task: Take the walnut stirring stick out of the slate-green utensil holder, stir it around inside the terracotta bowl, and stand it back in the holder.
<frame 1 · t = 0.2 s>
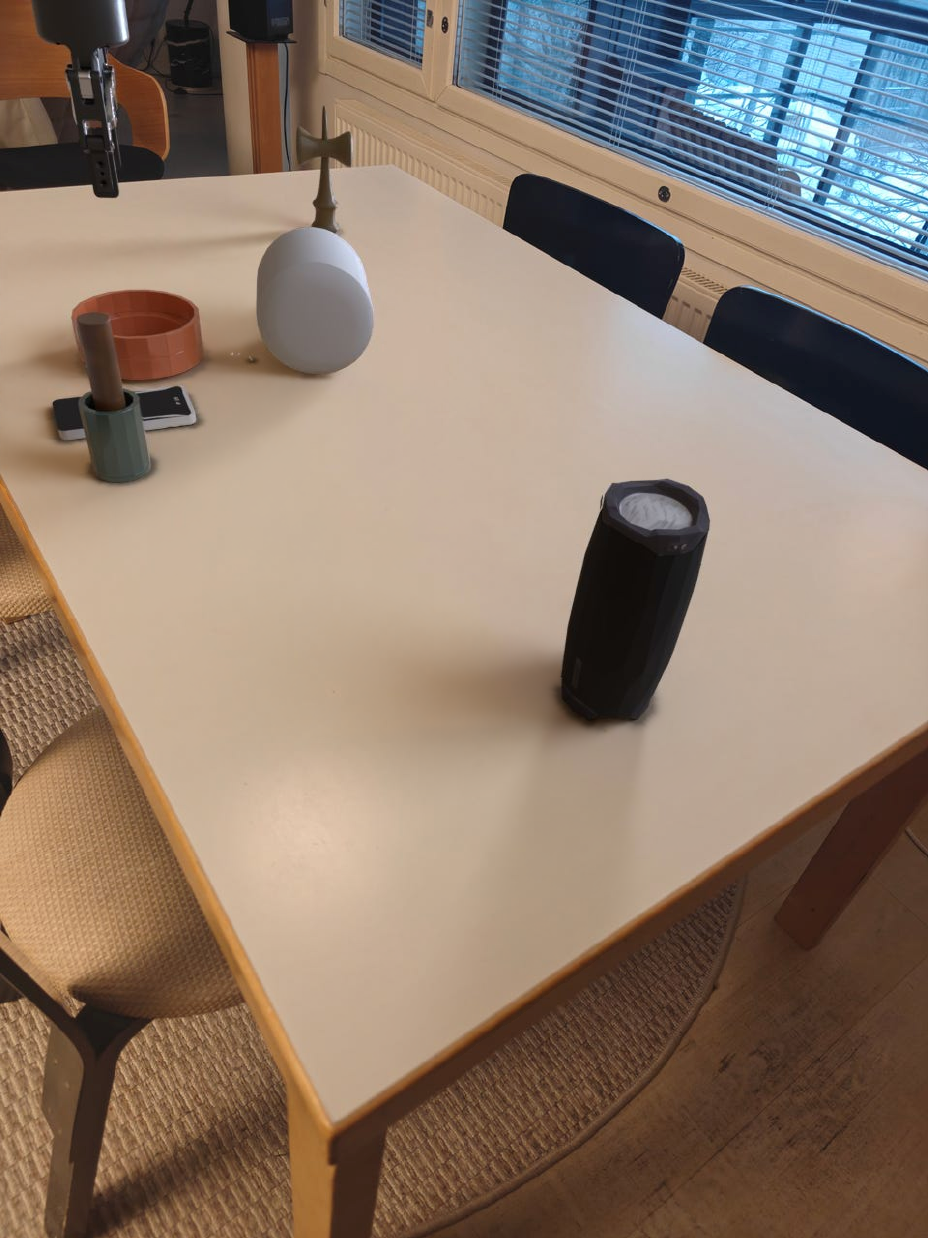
hand: (108, 182, 83), 26 cm above the table, tool pointing down, fingers open, 8 cm apart
stirring stick: (121, 463, 93), point 1 cm above the table, touching holder
kendama: (325, 232, 156), on the table
white oval cylinder: (301, 342, 121), on the table
portable speaker: (603, 694, 74), on the table
holder: (122, 467, 93), on the table
bowl: (143, 357, 113), on the table
smartphone: (126, 418, 101), on the table
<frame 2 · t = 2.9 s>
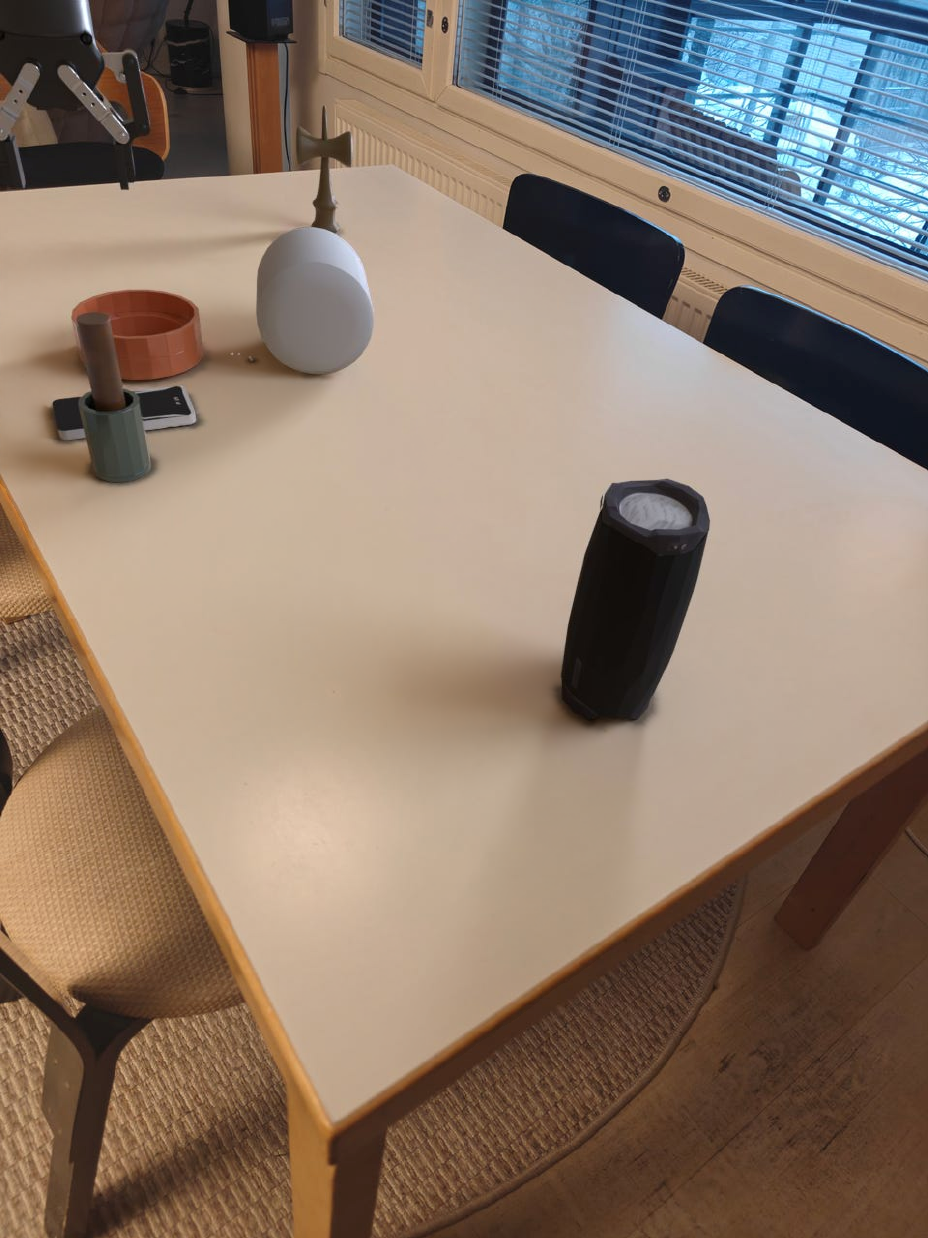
hand: (73, 186, 76), 28 cm above the table, tool pointing down, fingers open, 8 cm apart
nothing on the table moved.
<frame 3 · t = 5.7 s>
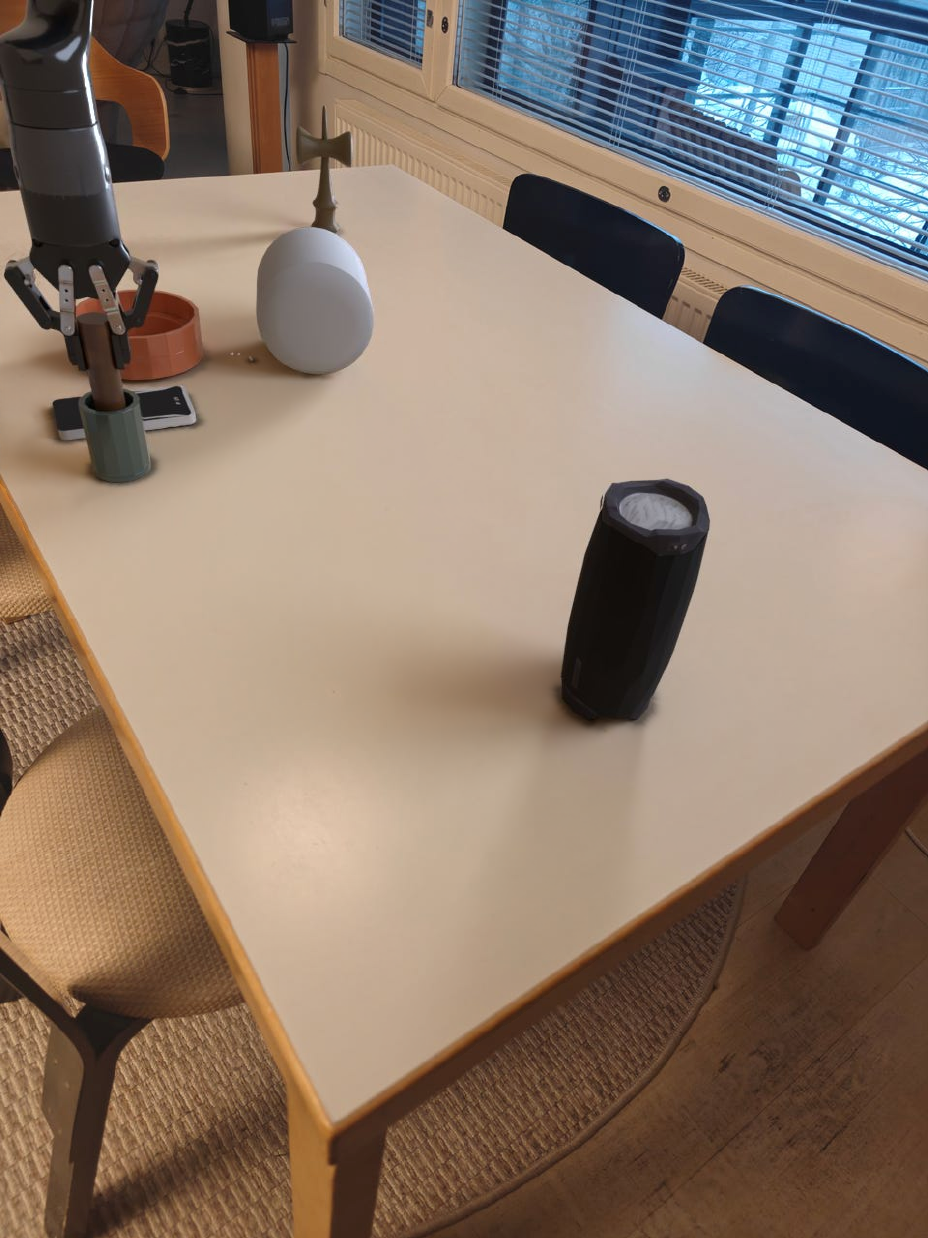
hand: (102, 365, 85), 12 cm above the table, tool pointing down, fingers closed on stirring stick, 3 cm apart
stirring stick: (121, 463, 93), point 1 cm above the table, touching gripper, holder
everything else where it was.
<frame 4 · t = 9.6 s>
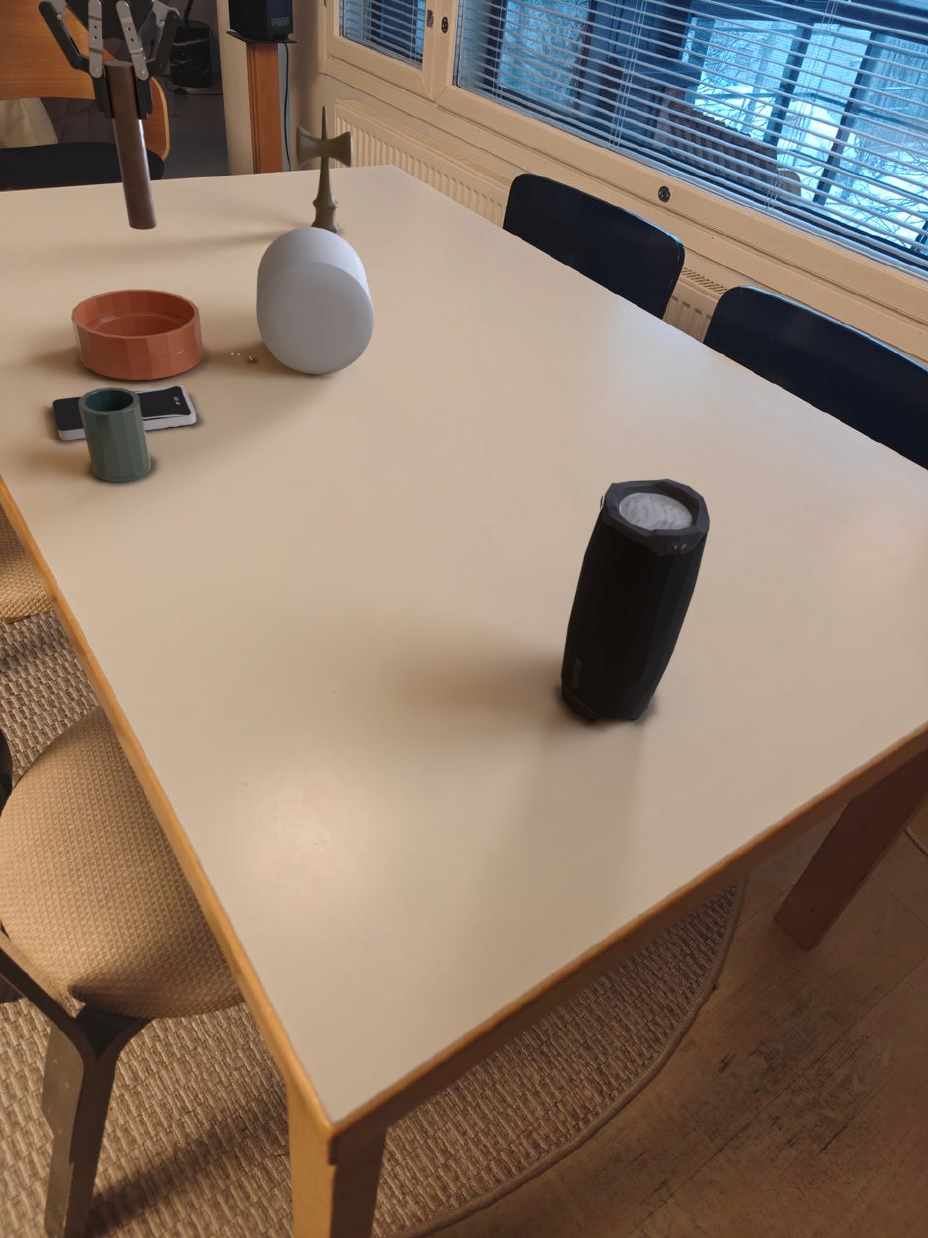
hand: (126, 116, 92), 29 cm above the table, tool pointing down, fingers closed on stirring stick, 3 cm apart
stirring stick: (143, 225, 99), point 18 cm above the table, touching gripper
everything else where it was.
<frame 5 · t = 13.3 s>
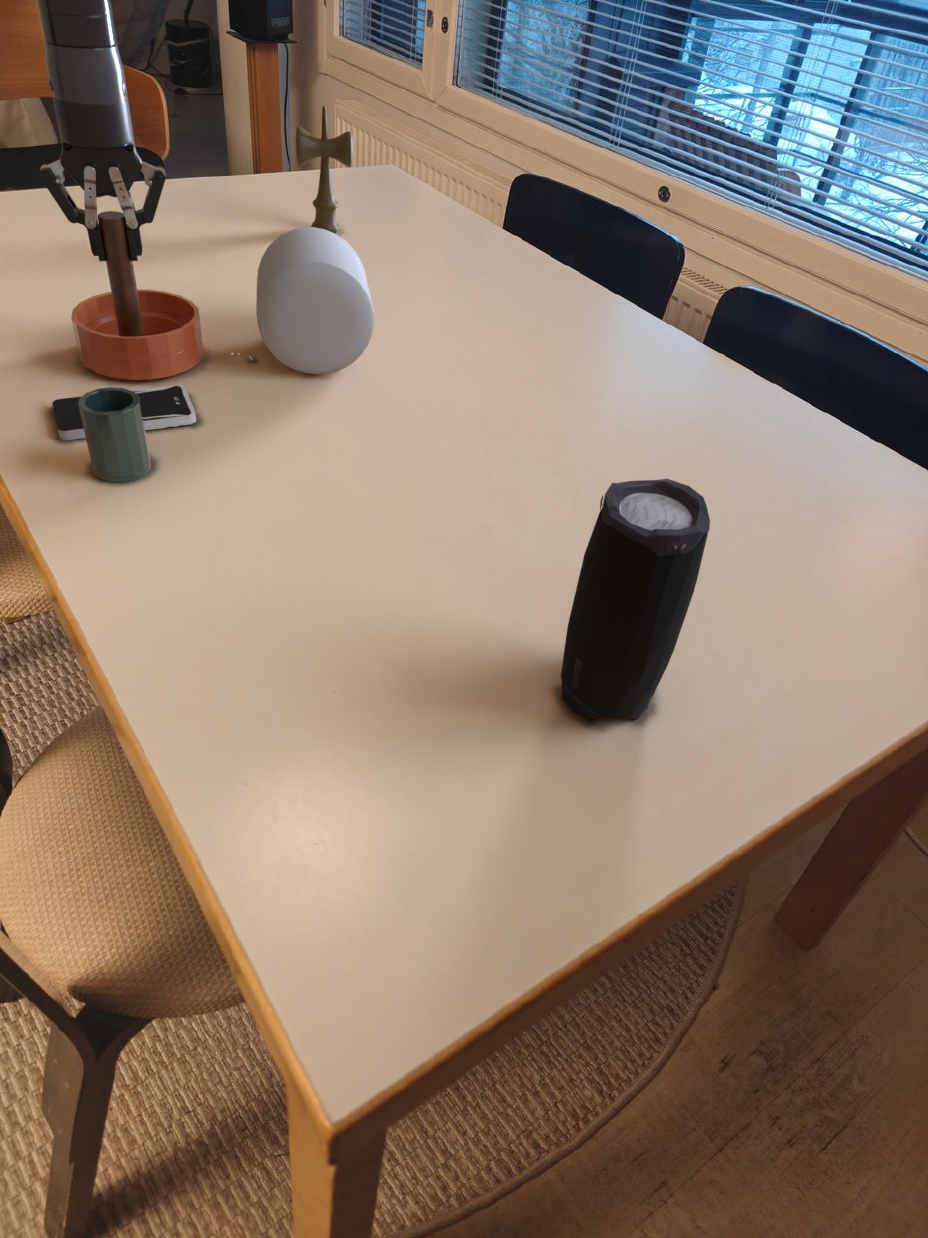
hand: (118, 258, 102), 13 cm above the table, tool pointing down, fingers closed on stirring stick, 3 cm apart
stirring stick: (134, 347, 110), point 2 cm above the table, touching gripper
everything else where it was.
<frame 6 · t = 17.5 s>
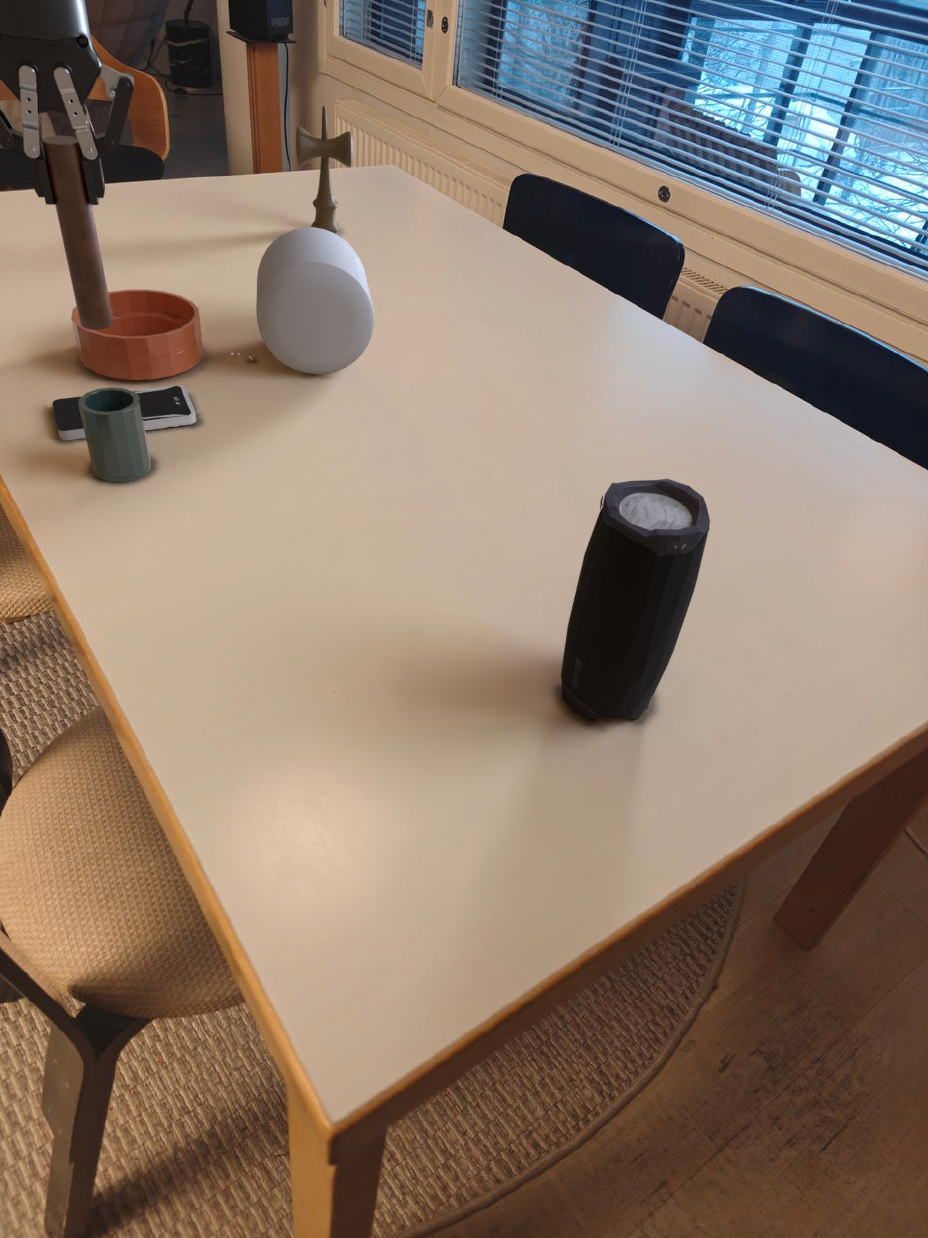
hand: (72, 201, 76), 27 cm above the table, tool pointing down, fingers closed on stirring stick, 3 cm apart
stirring stick: (97, 323, 83), point 16 cm above the table, touching gripper
everything else where it was.
when the fingers open (12 cm above the table, at t = 21.0 s): stirring stick stays where it is, resting on holder.
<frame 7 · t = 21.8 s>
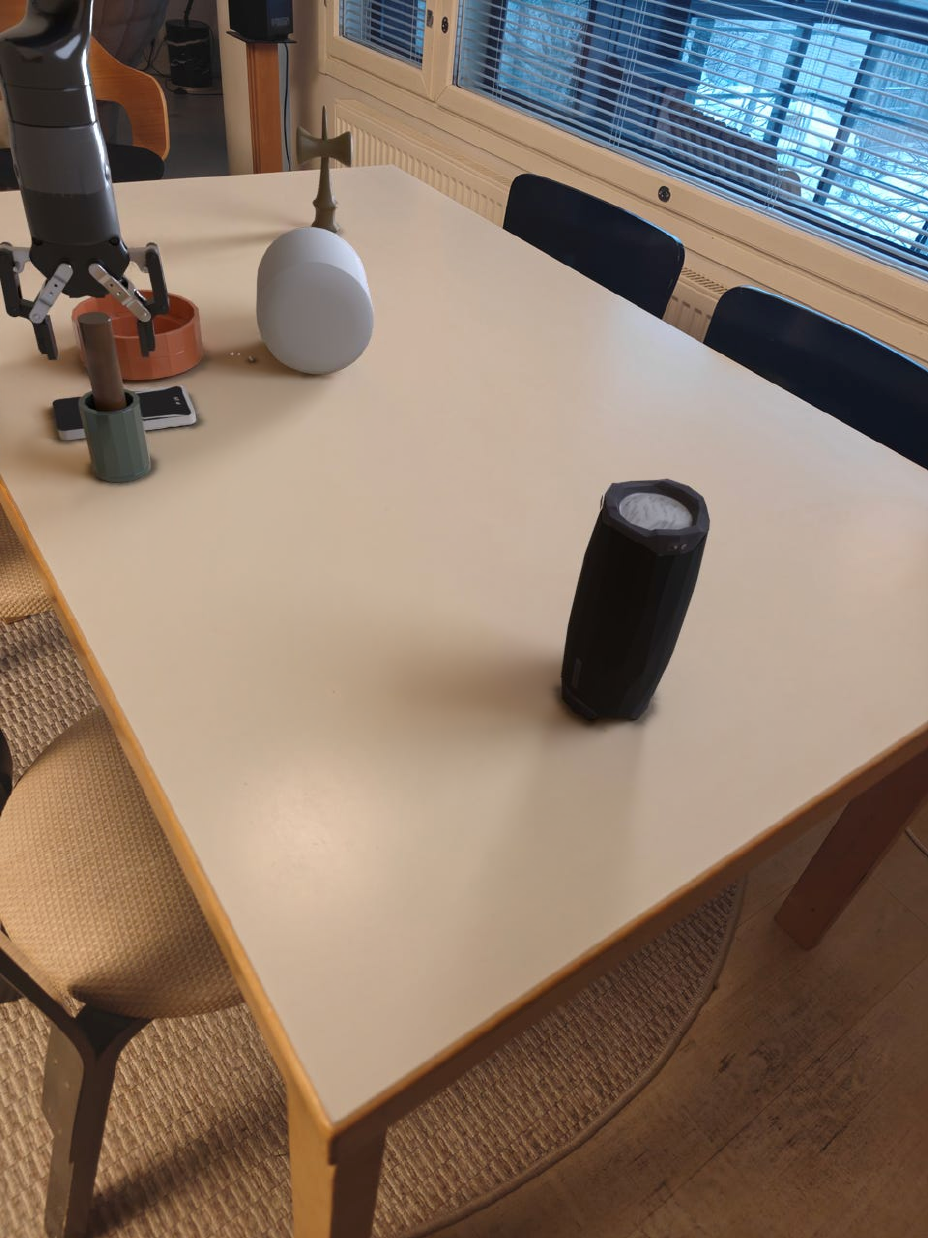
hand: (100, 355, 85), 13 cm above the table, tool pointing down, fingers open, 8 cm apart
stirring stick: (122, 462, 93), point 1 cm above the table, touching holder
everything else where it was.
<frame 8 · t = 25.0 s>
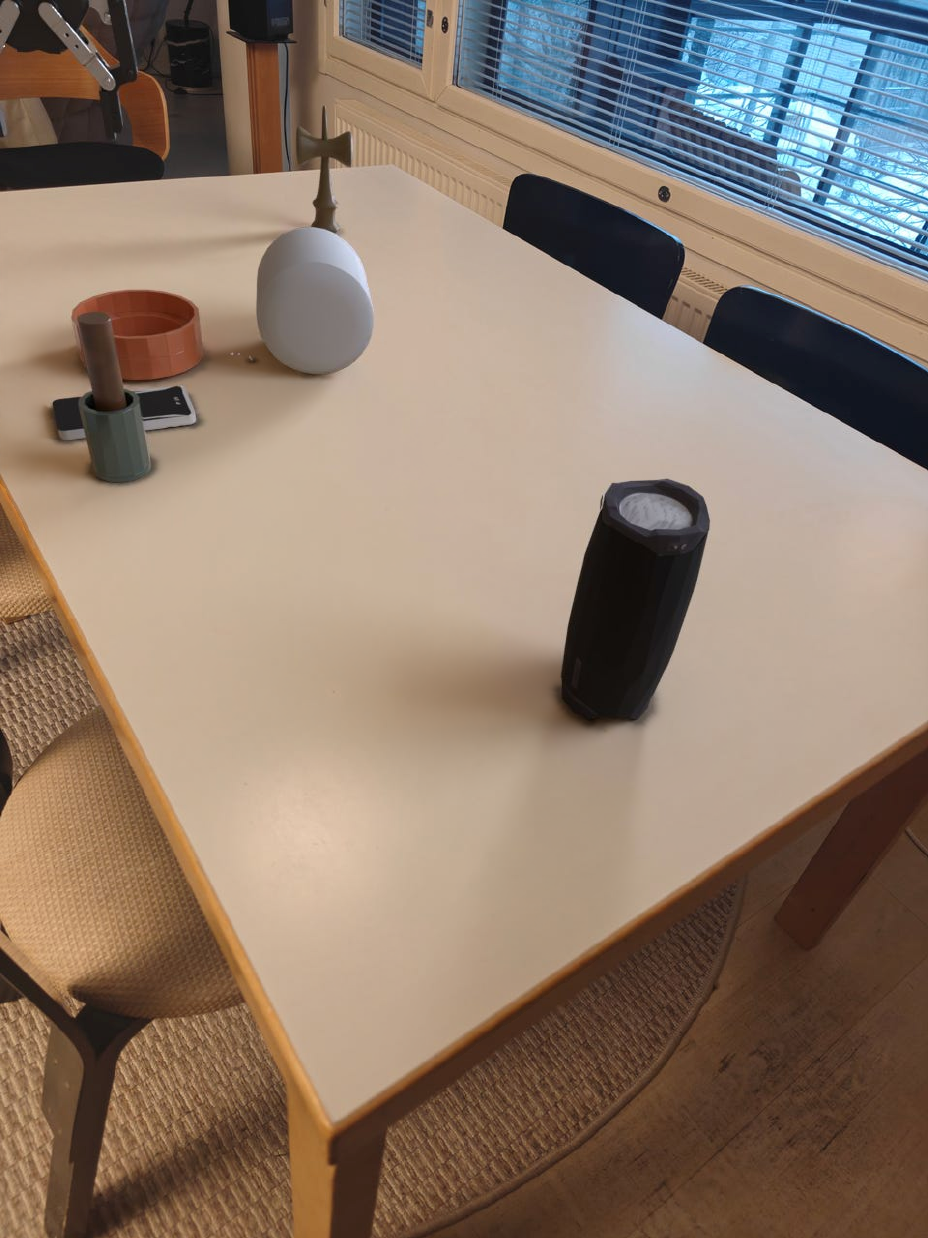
hand: (57, 136, 72), 32 cm above the table, tool pointing down, fingers open, 8 cm apart
nothing on the table moved.
at the end: stirring stick 0.1 cm off-centre in the holder, point 0.6 cm above the holder's base; stirring stick tilted 0°; the gripper is holding nothing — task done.
